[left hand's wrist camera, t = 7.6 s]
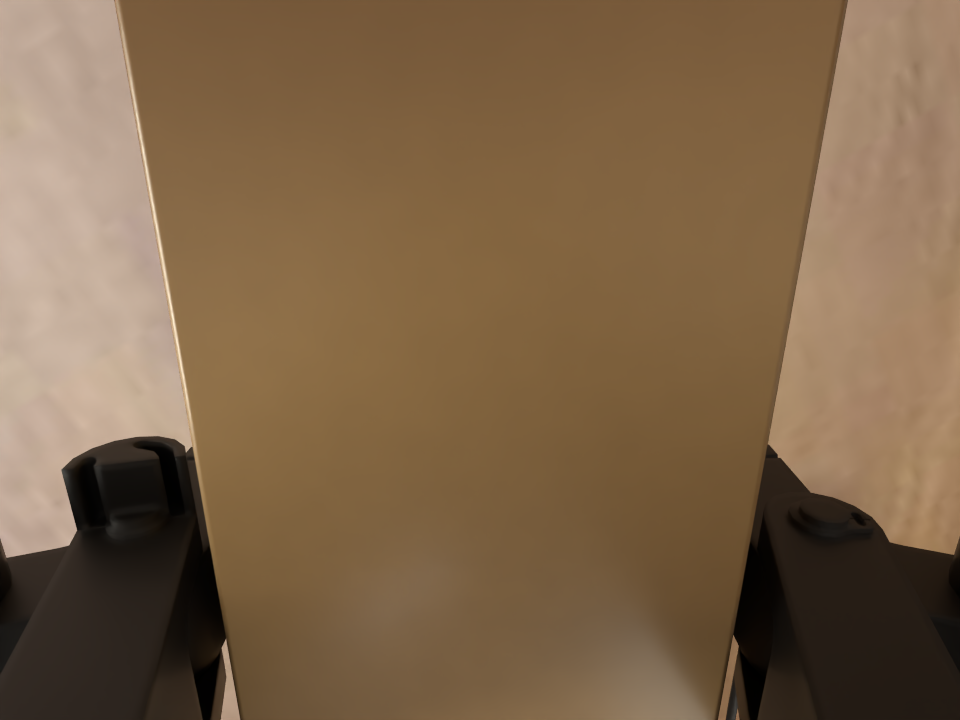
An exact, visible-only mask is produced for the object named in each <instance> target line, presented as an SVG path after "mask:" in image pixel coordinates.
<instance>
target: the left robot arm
mask: <svg viewBox="0 0 960 720" xmlns="http://www.w3.org/2000/svg"><path fill="white" fill-rule="evenodd" d="M62 474H63V478H64V482H65V485H66V489H67V493H68V497H69V501H70V504H71V508H72V512H73V516H74V520H75V523H76V527H77V532H76V534H75V536H74V538H73V540H72V542H71V543H70V545H69V546H66V547H62V548H57V549H52V550H47V551H41V552H36V553H31V554H25V555H20V556H15V557H9V558H6V555H5V552H4V549H3V546H2V543H1V540H0V720H221V713H222V705H223V698H224V690H225V683H226V672H225V665H224V659H223V654H222V646H223V644H224V642H225V639H226V634H225V629H224V623H223V617H222V611H221V606H220V600H219V594H218V589H217V583H216V577H215V572H214V566H213V560H212V554H211V549H210V543H209V537H208V532H207V526H206V520H205V514H204V509H203V503H202V497H201V492H200V486H199V480H198V475H197V469H196V463H195V457H194V452H193V447H191V448H190V449H189V450H188V451H187V452H186V451H185V446H184V445H182V444H181V443H179V442H178V441H176V440H175V439H170V438H165V437H159V436H153V437H134V438H129V439H123V440H118V441H113V442H110V443H107V444H104V445H101V446H98V447H95V448H92V449H90V450H88V451H87V452H85V453H83V454H81V455H79V456H77V457H75V458H73V459H72V460H71V461H70V462H69V463H68V464H67V465H66V466H65V467H64V468H63V469H62ZM733 635H734V637H735V639H736V641H737V643H738V645H739V648H738V654H737V659H736V665H735V670H734V676H733V681H732V687H731V692H730V697H729V703H728V709H727V716H726V720H735V719H736V714H737V709H738V711H739V719H740V720H960V538H959V541H958V544H957V547H956V551H955V554H954V555H951V554H946V553H940V552H935V551H929V550H924V549H919V548H913V547H908V546H903V545H898V544H894V543H890V542H889V540H888V538H887V537H886V535H885V533H884V531H883V529H882V528H881V527H880V526H879V525H878V524H877V523H876V521H875V520H874V519H873V518H872V517H871V516H869V515H868V514H866V513H865V512H863V511H861V510H860V509H858V508H857V507H855V506H853V505H851V504H848V503H846V502H843V501H841V500H838V499H835V498H833V497H828V496H824V495H819V494H814V493H810V491H809V490H808V489H807V488H806V487H805V486H804V485H803V483H802V482H801V481H800V480H799V479H798V478H797V476H796V475H795V474H794V473H793V472H792V471H791V470H790V468H789V467H788V466H787V465H786V464H785V463H784V461H783V460H782V459H781V458H778V455H777V453H776V452H775V451H774V450H773V449H772V448H771V447H770V445H767V450H766V456H765V461H764V467H763V472H762V478H761V483H760V489H759V494H758V500H757V506H756V511H755V517H754V522H753V528H752V533H751V539H750V544H749V550H748V555H747V561H746V566H745V572H744V578H743V583H742V589H741V594H740V600H739V605H738V611H737V616H736V622H735V627H734V633H733Z"/></svg>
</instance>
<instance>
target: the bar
mask: <svg viewBox="0 0 960 720" xmlns="http://www.w3.org/2000/svg"><path fill="white" fill-rule="evenodd" d="M114 1H115V7H116V13H117V18H118V24H119V30H120V35H121V41H122V47H123V52H124V58H125V64H126V70H127V75H128V81H129V87H130V92H131V98H132V104H133V109H134V115H135V121H136V127H137V132H138V138H139V144H140V149H141V155H142V161H143V167H144V172H145V178H146V184H147V189H148V195H149V201H150V206H151V212H152V218H153V224H154V229H155V235H156V241H157V246H158V252H159V258H160V264H161V269H162V275H163V281H164V286H165V292H166V298H167V303H168V309H169V315H170V321H171V326H172V332H173V338H174V343H175V349H176V355H177V360H178V366H179V372H180V378H181V383H182V389H183V395H184V400H185V406H186V412H187V418H188V423H189V429H190V435H191V440H192V446H193V452H194V457H195V463H196V469H197V475H198V480H199V486H200V492H201V497H202V503H203V509H204V514H205V520H206V526H207V532H208V537H209V543H210V549H211V554H212V560H213V566H214V572H215V577H216V583H217V589H218V594H219V600H220V606H221V611H222V617H223V623H224V629H225V634H226V640H227V646H228V651H229V657H230V663H231V669H232V674H233V680H234V686H235V691H236V697H237V703H238V708H239V714H240V720H718V716H719V710H720V705H721V699H722V694H723V688H724V683H725V677H726V672H727V666H728V661H729V655H730V649H731V644H732V638H733V633H734V627H735V622H736V616H737V611H738V605H739V600H740V594H741V589H742V583H743V578H744V572H745V566H746V561H747V555H748V550H749V544H750V539H751V533H752V528H753V522H754V517H755V511H756V506H757V500H758V494H759V489H760V483H761V478H762V472H763V467H764V461H765V456H766V450H767V445H768V439H769V434H770V428H771V423H772V417H773V411H774V406H775V400H776V395H777V389H778V384H779V378H780V373H781V367H782V362H783V356H784V351H785V345H786V340H787V334H788V328H789V323H790V317H791V312H792V306H793V301H794V295H795V290H796V284H797V279H798V273H799V268H800V262H801V257H802V251H803V245H804V240H805V234H806V229H807V223H808V218H809V212H810V207H811V201H812V196H813V190H814V185H815V179H816V174H817V168H818V162H819V157H820V151H821V146H822V140H823V135H824V129H825V124H826V118H827V113H828V107H829V102H830V96H831V91H832V85H833V79H834V74H835V68H836V63H837V57H838V52H839V46H840V41H841V35H842V30H843V24H844V19H845V13H846V8H847V2H848V0H114Z"/></svg>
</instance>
